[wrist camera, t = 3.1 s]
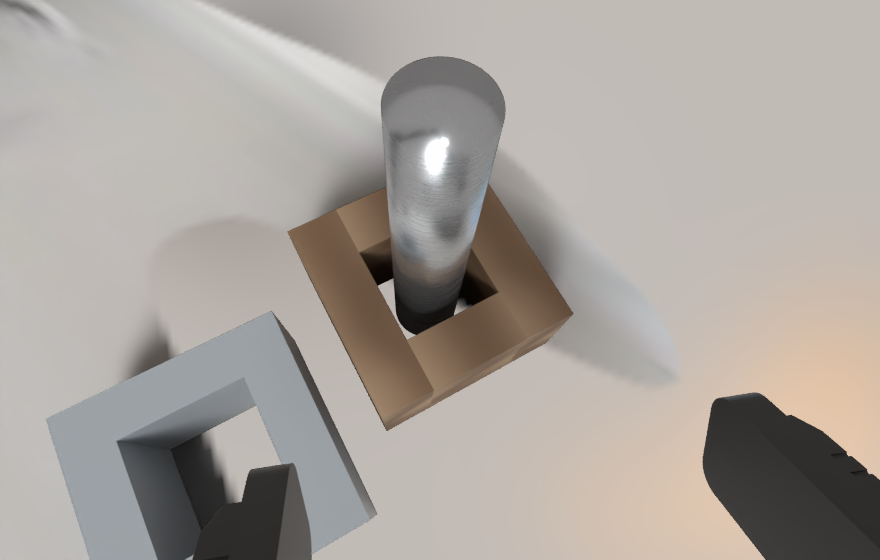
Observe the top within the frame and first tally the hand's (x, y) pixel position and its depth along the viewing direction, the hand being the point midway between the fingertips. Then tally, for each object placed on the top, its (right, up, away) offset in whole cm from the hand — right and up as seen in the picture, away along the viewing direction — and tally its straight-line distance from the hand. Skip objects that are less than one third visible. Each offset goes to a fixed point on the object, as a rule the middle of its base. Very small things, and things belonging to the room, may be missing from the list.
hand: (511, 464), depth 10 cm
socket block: (-10, -5, +15) cm, 19 cm away
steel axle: (-2, +2, +18) cm, 18 cm away
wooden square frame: (-2, +2, +18) cm, 18 cm away
